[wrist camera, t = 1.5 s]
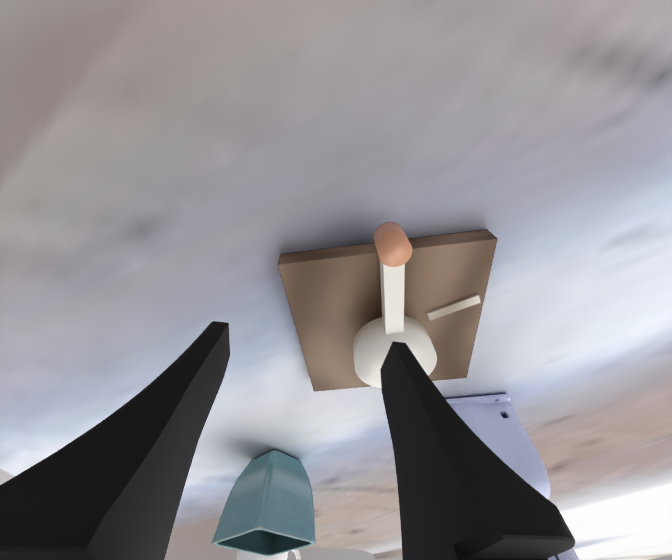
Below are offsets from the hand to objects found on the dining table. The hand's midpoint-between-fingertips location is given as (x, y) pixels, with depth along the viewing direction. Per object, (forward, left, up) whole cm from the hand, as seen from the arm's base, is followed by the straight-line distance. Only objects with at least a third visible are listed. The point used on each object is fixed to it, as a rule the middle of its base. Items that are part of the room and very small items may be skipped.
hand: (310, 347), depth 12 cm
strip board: (-5, +8, -10) cm, 13 cm away
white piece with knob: (-5, +4, -7) cm, 9 cm away
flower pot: (+11, +33, -10) cm, 36 cm away
